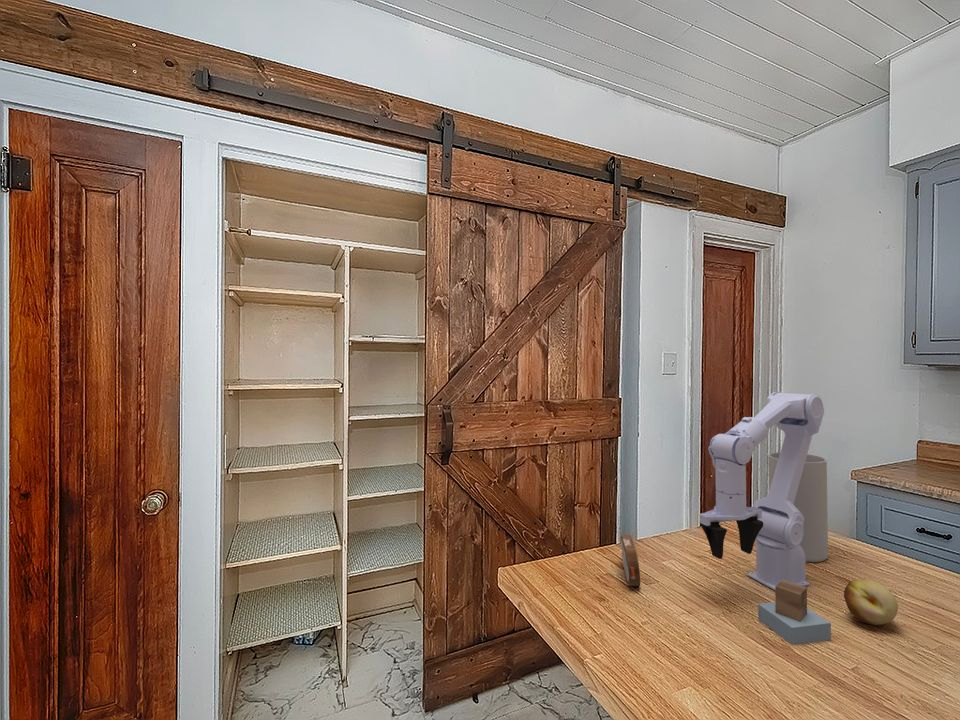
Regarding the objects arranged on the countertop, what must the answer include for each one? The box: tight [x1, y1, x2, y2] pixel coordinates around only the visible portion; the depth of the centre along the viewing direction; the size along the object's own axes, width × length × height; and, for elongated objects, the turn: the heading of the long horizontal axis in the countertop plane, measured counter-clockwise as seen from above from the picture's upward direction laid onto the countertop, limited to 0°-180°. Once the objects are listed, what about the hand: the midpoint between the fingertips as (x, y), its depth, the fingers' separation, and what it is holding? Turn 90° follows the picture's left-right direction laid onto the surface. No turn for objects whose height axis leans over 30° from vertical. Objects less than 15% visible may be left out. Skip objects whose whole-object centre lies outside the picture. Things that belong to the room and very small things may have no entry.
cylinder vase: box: [767, 451, 829, 563], centre depth 119 cm, size 12×12×25 cm
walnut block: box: [774, 579, 808, 622], centre depth 86 cm, size 4×4×5 cm
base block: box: [757, 601, 832, 646], centre depth 86 cm, size 8×8×4 cm
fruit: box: [843, 579, 899, 626], centre depth 87 cm, size 8×8×8 cm
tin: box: [620, 534, 641, 587], centre depth 107 cm, size 15×3×8 cm, turn 168°
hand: (731, 554), depth 97 cm, fingers open, 7 cm apart
